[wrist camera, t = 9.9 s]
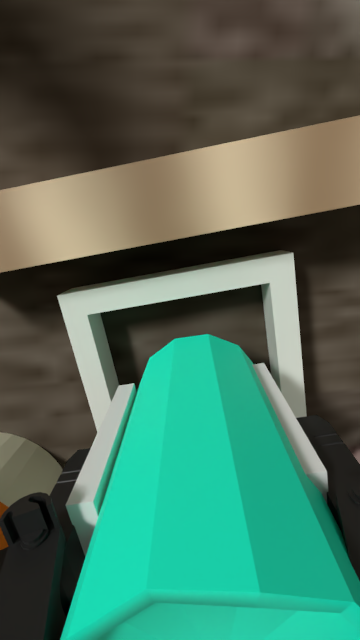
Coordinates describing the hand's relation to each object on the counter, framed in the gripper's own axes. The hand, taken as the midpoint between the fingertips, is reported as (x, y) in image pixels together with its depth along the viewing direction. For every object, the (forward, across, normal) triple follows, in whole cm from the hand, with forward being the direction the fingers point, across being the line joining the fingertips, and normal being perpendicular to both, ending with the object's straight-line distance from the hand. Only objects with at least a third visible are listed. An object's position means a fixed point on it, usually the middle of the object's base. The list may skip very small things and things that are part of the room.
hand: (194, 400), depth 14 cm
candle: (+1, 0, 0) cm, 1 cm away
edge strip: (+4, 0, +9) cm, 10 cm away
